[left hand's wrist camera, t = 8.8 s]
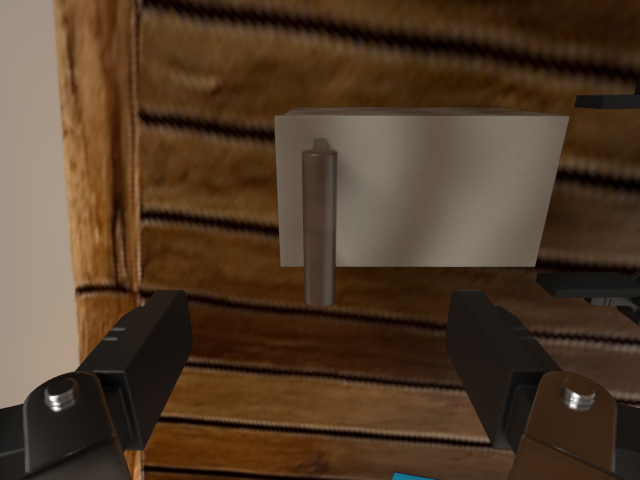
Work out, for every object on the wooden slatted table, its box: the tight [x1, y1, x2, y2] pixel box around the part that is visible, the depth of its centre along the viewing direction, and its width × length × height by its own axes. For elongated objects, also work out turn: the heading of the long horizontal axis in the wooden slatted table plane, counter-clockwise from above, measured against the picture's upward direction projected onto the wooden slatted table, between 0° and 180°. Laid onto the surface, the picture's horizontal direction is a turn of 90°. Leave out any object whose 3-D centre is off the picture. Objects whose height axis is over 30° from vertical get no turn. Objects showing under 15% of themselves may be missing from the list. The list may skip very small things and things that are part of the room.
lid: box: [274, 115, 569, 307], centre depth 21 cm, size 17×10×8 cm, turn 90°
